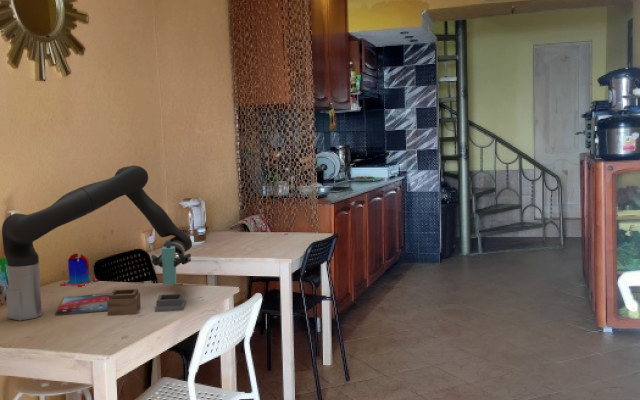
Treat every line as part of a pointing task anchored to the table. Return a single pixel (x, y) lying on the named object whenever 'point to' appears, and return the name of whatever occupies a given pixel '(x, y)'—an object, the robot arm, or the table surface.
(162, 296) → the lower dock
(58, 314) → the tablet
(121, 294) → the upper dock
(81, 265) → the fantasy tower
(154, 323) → the table surface
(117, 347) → the table surface
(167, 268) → the plug block
